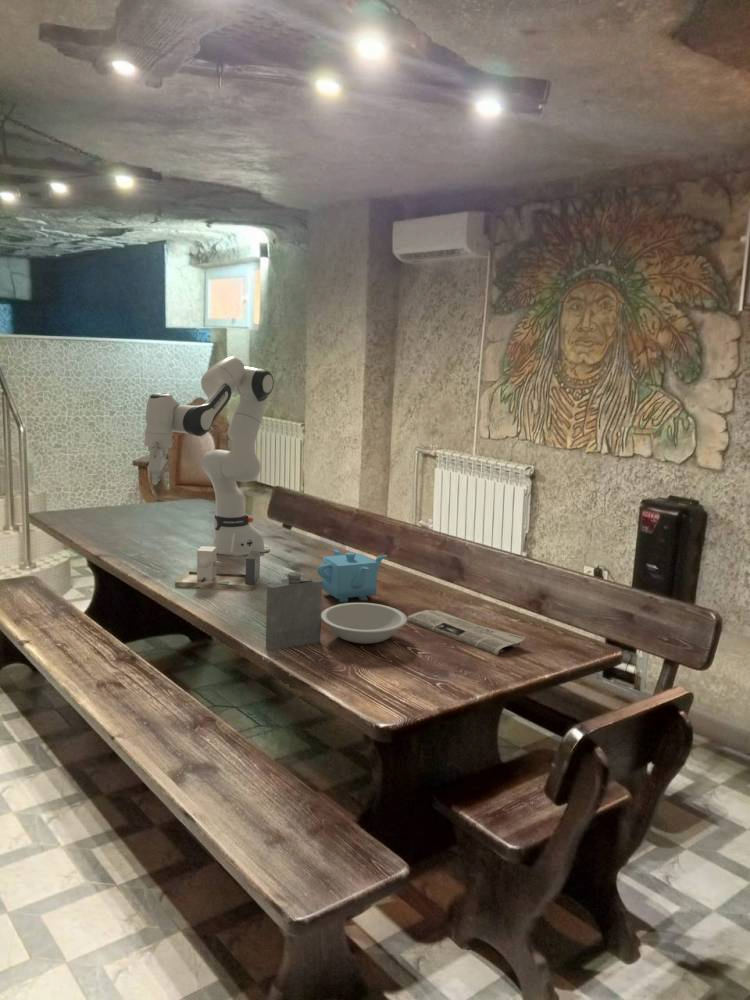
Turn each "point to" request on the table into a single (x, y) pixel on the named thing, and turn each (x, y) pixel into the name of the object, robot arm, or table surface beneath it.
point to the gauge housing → (206, 563)
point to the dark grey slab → (252, 568)
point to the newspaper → (465, 631)
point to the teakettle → (349, 575)
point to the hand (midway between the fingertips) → (156, 482)
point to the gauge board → (216, 581)
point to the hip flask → (293, 612)
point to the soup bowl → (363, 621)
